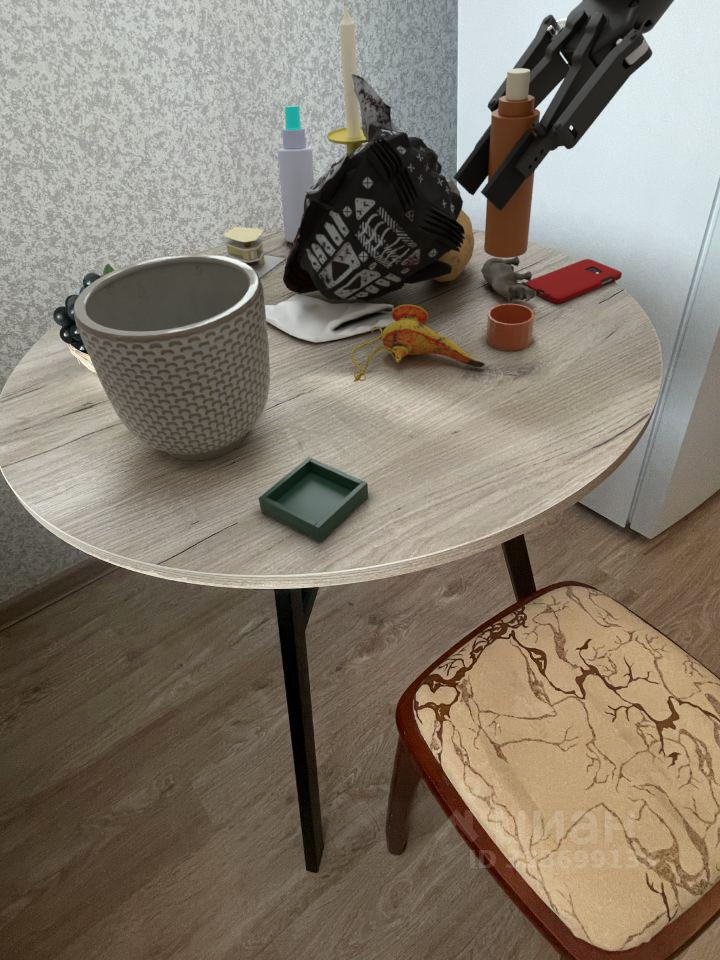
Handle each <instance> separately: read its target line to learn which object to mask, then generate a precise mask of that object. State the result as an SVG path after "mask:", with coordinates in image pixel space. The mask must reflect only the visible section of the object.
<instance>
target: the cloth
mask: <svg viewBox="0 0 720 960" xmlns="http://www.w3.org/2000/svg"><path fill="white" fill-rule="evenodd" d="M394 308H395V307H394V305H393V304H388V303H372V302H366V301H356V302H353V303H348V302H342V303H340V302H339V303H331V302H327V301H325V300H323V299H320V298H316V297H313V296H309V295H306V294H301V293H295V294H293V295H292V296H291V297H289V298H287V299H286V300H285V301H281V302H279V303H277V304H275V305H272V304H271V305H270V304H265V312H266V322H267V323H269V324H270V325H272V326H274V327H275V328H277V329H279V330H281V331H283V332H284V333H286V334H288V335H290V336H293V337H295V338H296V339H300V340H304V341H308V342H312V343H323V342H324V343H325V342H330V341H334V340H339V339H341V340H342V339H344V338H349V337H352V336H356V335H361V334H365V333H368V332H372V328H374V327H379V328H381V329H383V328H386V327H387V326H388V325H389V324H391V323H393V322H395V320H394V319H393V318H392V315H391V313H392V311H393V309H394ZM375 330H379V329H378V328H374V329H373V331H375Z"/></svg>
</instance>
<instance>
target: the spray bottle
mask: <svg viewBox="0 0 720 960" xmlns="http://www.w3.org/2000/svg"><path fill="white" fill-rule="evenodd" d="M284 117H285V118H284V120H285V129H282V147H281V148H279V149H278V150H277V159H278V171H279V182H280V194H281V195H280V196H281V207H282V217H283V218H282V219H283V230H284V239H285V241H287V243H292V244H293V241H294V239H295V237H296V234H297V231H298V228H299V227H300V224H301V219H302V215H303V213H304V201H305V196H306V194H307V193H306V191H307V190H308V189H309V188H310V187H311V186H312V185H313V184H314V183H315V173H314V156H313V148H312V147H309V146H307V140H306V131H305V128H302V125H301V124H302V123H301V112H300V105H290V106H287V105H286V106H284Z"/></svg>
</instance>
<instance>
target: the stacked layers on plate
mask: <svg viewBox="0 0 720 960" xmlns="http://www.w3.org/2000/svg"><path fill="white" fill-rule="evenodd" d="M262 233H263V229H261V228H257V227H256V228H254V227H238V226H234V227H232V228H231V229H229V230H228V231H226V232H224V233H223V234H222V236H223V237H226V238H228V239H226V240H224V241H223V245H225V246H226V249H227V252H226V253H225V256H226V257H230V258H233V259H237V260H239V261H242V262H244V263H246V264H247V265H249V266H250V267H252V268H253V269H254V270H255V271H256V272H257V274H258V276H259V278H260V279H261V278H262V277H263V276H265V275H266V274H267V273H268V272H270V271H271V270H273V269H274V268H275V267H277V266H278V265H279V264H281V262H283V261H284V260H286V257H281V256H274V255H267V254H265V253H266V248H265V247H263V242H264V241H265V239H264V237H263V236H261V235H262Z"/></svg>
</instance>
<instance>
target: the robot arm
mask: <svg viewBox="0 0 720 960" xmlns="http://www.w3.org/2000/svg"><path fill="white" fill-rule="evenodd" d="M674 2H675V0H581V2H579V3H578V4H577V5H576V7H574V8H573V9H572V10H571V11H570V12H569V13H568V15H567V16H566V17H565V18H561V19H558V20H556V18H555V16H554V15H553V14H548V15H546V16H545V17H544V18H543V19H542V21H541V23H540V25H539V28H538V30H537V32H536V34H535V37H534V38H533V39H532V40H531V42H530V44H529V45H528V46H527V48H526V49H525V51H524V52H523V54H522V55H521V56H520V58H519V59H518V60H517V62H516V63H515V64H514V66H513V67H512V69H517V68H524V69H529V70H530V80H529V92H528V95H531V96H533V97H534V98H535V100H534V109H537V107H539V106H540V105H541V104H542V102H543V101H544V100H545V99H547V97H548V96H549V95H550V93H552V91H554V89H555V88H556V87H557V86H558V85H559V84H560V85H559V87H558V89H557V91H555V93H554V95H553V98H552V99H551V101H550V103H549V105H548V106H547V108H546V110H545V112H544V113H543V115H542V117H541V119H539V123H531V128H532V129H533V131H534V132H535V133H536V134H537V135H536V136H534V135H533V133H532V132H530V131H526V132H525V133H524V135H523V136H522V137H521V139H520V140H519V141H518V143H517V144H516V145H515V147H514V148H513V149H512V151H511V152H510V153H509V155H508V156H507V157H506V159H505V160H504V161H503V163H502V164H501V166H500V167H499V168H498V170H497V171H496V172H495V174H494V175H493V176H492V178H491V179H490V180H489V182H488V181H487V183H486V184H485V185H484V187H483V188H482V189H481V191H480V193H481V194H482V196H484V197H485V198H486V200H487V199H488V200H489V201H490V202H491V203H492V204H493V205H494V206H495V207H496V208H497V209H499V210H500V211H501V210H502V209H503V208H504V206H505V205H506V204H507V203H508V201H509V200H510V199H511V197H512V196H513V195H514V193H515V192H516V191H517V189H518V188H519V187H520V185H521V184H522V183H523V182H524V180H525V179H527V178H528V177H530V176H531V175H532V174H533V172H534V171H536V170H537V169H538V167H539V166H540V165H541V163H542V162H543V161H544V160H545V158H546V157H547V155H548V154H549V153H550V152H551V151H556V150H557V149H558V148H559V147H564V148H565V149H566V150H571V149H573V148H574V147H575V146H576V145H577V144H578V143H579V141H580V140H581V139H582V138H583V136H584V135H586V133H587V131H588V130H589V129H590V128H591V126H592V125H593V124H594V123H595V122H596V120H597V119H598V117H599V116H600V115H601V114H602V113H603V111H604V110H605V108H606V107H608V105H609V104H610V102H611V101H612V100H613V99H614V97H615V96H616V95H617V93H618V92H619V91H620V89H621V88H622V87H623V86H624V85H625V83H626V82H627V81H628V80H629V78H630V77H631V76H632V75H633V74H634V73H635V72H637V70H639V69H640V68H641V67H642V66H643V65H644V64H645V63H647V62H648V61H650V58H652V56H653V50H652V49H651V46H650V45H649V42H648V41H647V40H646V38H645V36H644V34H647V33H649V32H650V31H651V30H653V29H654V27H655V26H656V25H657V23H658V22H659V21H660V19H661V18H662V17H663V15H664V14H666V12H667V10H669V8H670V6H671V5H672V4H673V3H674ZM506 85H507V76H506V77H505V79H504V80H503V82H501V84H500V85H499V87H498V88H497V90H496V92H495V93H494V94H493V96H492V97H491V98H490V100H489V101H488V103H487V108H488V110H490V112H491V113H492V112H493V111H495V110H497V109H498V107H499V98H500V97H502V96H505V95H506ZM571 127H572V129H571ZM490 133H491V123H490V124H489V126H487V128H486V130H485V131H484V133H483V134H482V135H481V137H480V138H479V139H478V141H477V142H476V144H475V146H474V148H473V150H472V151H471V152H470V153H469V155H468V156H467V158H466V159H465V161H464V162H463V164H462V165H461V166H460V167H459V169H458V170H457V171H456V173H455V175H454V176H453V177H452V178H453V179H454V180H455V181H456V182H457V183H458V184H459V185H460V186H461V187H462V188H463V189H464V190H465V191H466V192H467V193H468V194H469V195H471V196H475V194H476V192H477V191H478V190H479V188H480V187H481V186H482V184H483V183H484V182H485V180H486V179H488V170H489V151H490ZM534 173H535V172H534Z"/></svg>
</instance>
